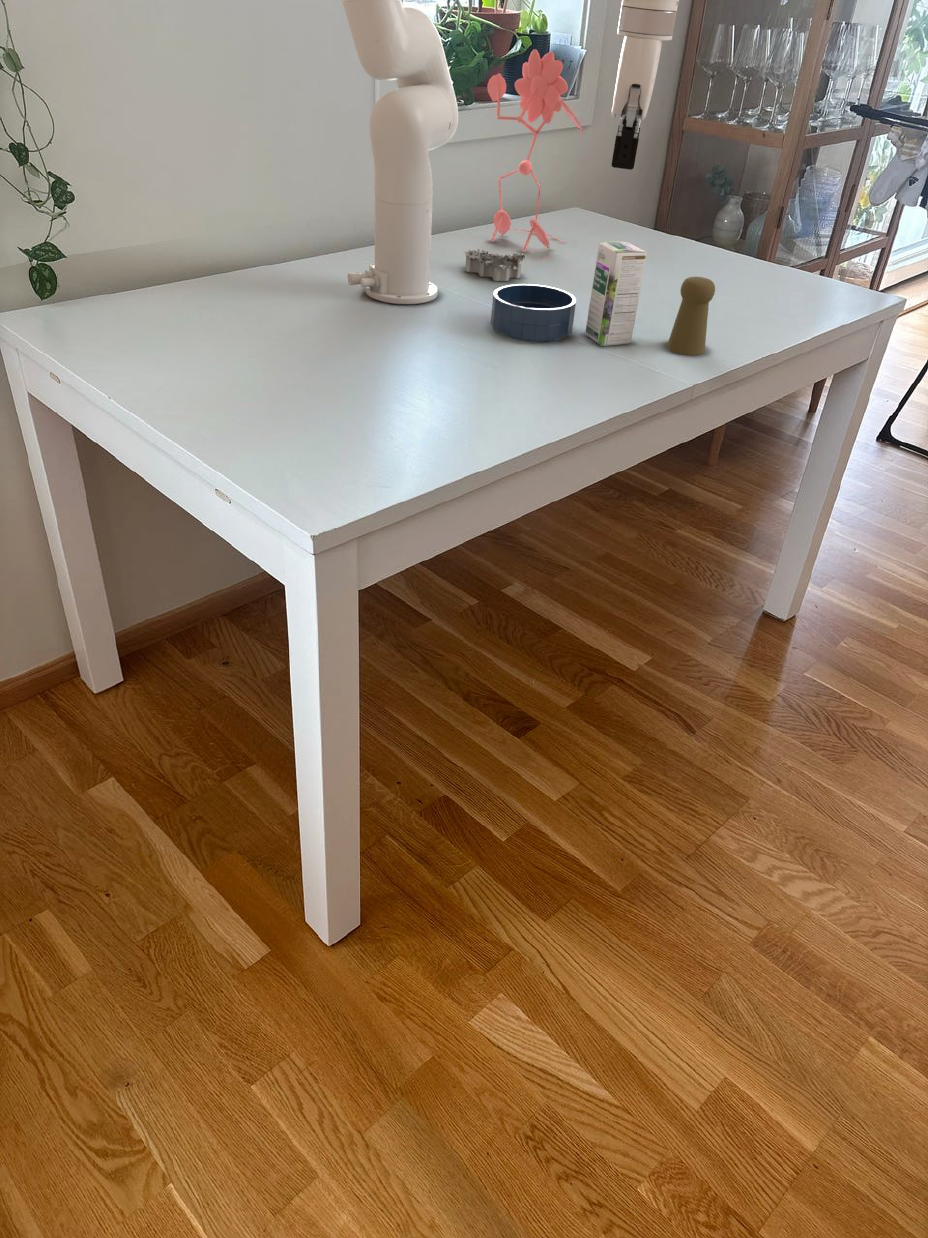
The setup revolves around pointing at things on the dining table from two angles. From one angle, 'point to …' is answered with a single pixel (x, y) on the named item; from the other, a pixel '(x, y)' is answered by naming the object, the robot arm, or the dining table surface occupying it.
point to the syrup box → (615, 293)
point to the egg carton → (494, 264)
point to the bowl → (533, 312)
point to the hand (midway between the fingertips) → (623, 161)
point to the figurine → (532, 119)
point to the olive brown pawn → (692, 317)
